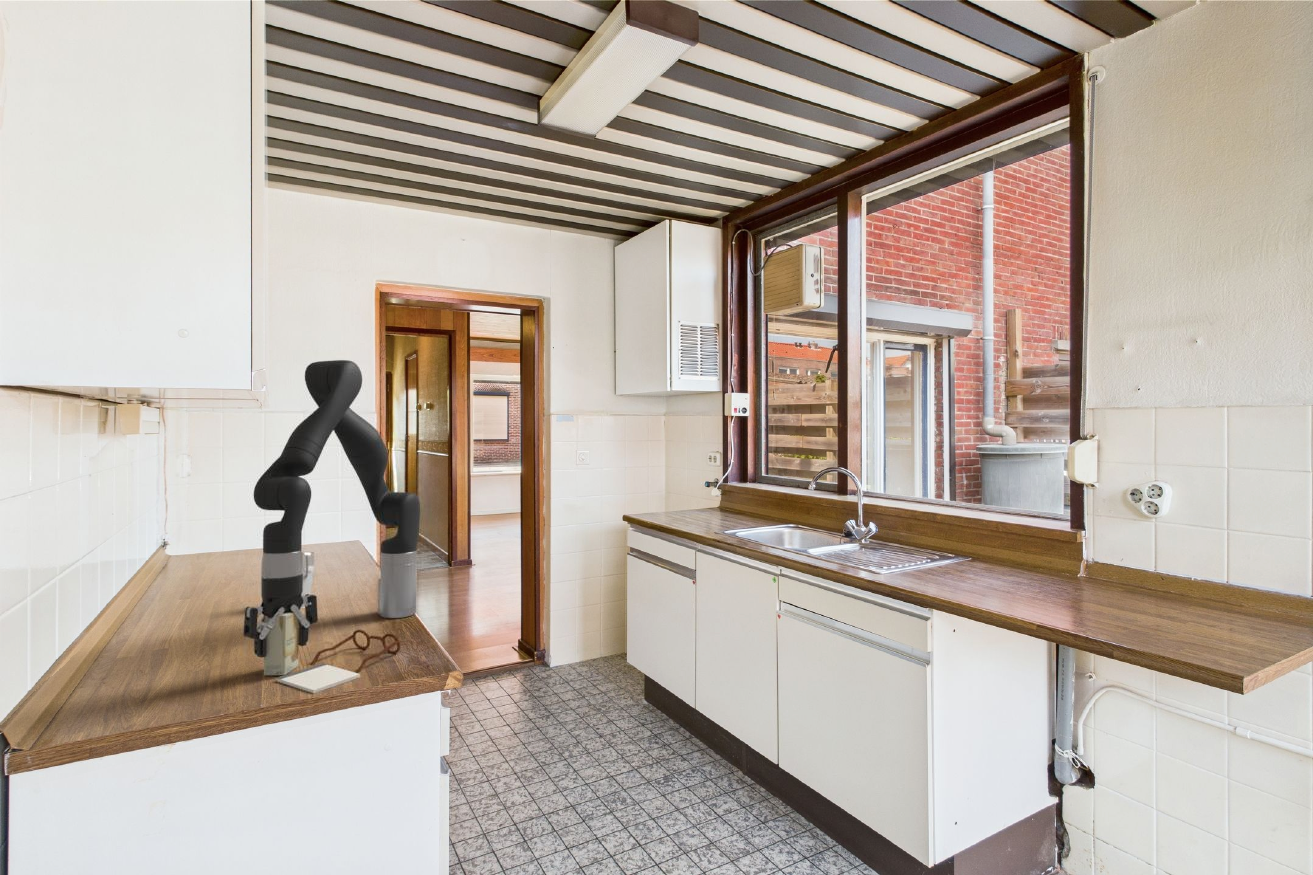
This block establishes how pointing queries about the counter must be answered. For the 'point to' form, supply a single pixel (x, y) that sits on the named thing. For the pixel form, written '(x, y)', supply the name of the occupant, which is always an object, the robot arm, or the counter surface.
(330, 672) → the board
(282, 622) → the skincare box
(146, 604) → the counter surface
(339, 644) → the glasses
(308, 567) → the beer glass
